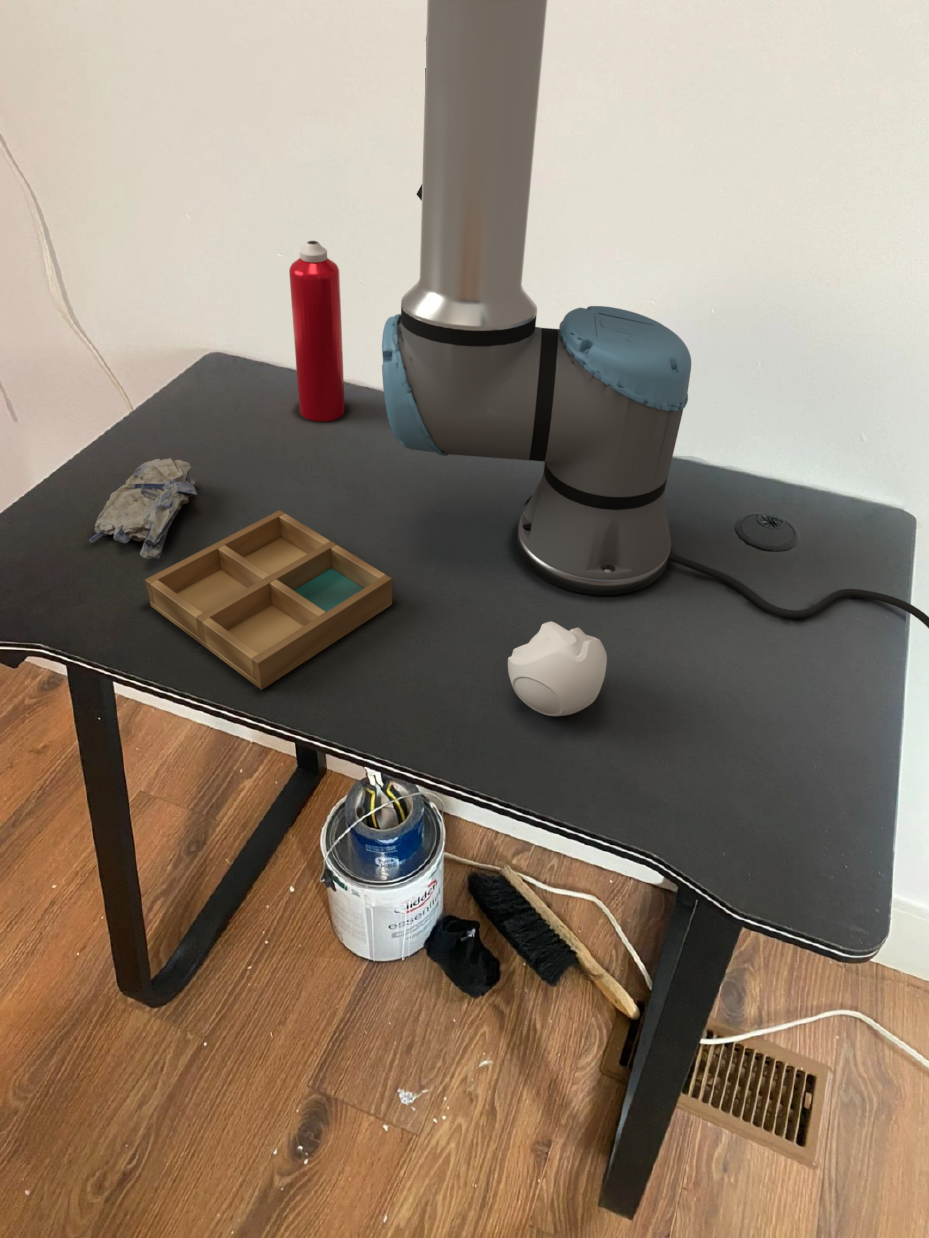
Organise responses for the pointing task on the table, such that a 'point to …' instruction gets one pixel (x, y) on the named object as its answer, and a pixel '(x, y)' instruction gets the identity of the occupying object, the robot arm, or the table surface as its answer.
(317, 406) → the bottle
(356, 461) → the table surface
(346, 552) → the wooden divided tray
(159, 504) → the crumpled cloth bundle
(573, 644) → the off-white rounded piece
